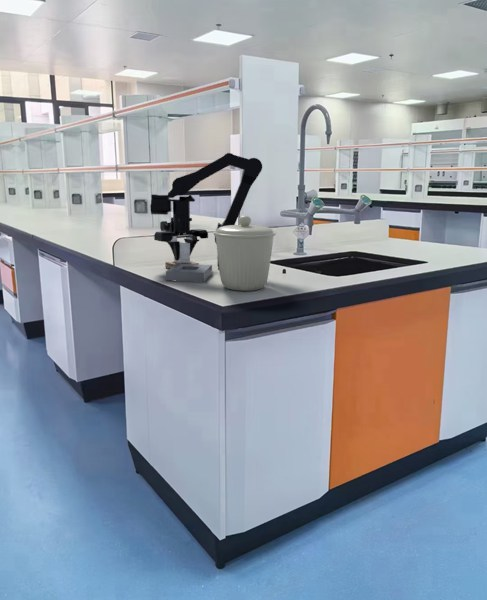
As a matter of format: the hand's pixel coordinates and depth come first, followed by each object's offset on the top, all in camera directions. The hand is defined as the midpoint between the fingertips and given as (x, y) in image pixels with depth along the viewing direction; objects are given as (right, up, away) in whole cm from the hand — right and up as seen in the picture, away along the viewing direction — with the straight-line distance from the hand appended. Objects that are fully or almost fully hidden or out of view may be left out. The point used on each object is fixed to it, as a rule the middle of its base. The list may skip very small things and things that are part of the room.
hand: (182, 259), depth 184 cm
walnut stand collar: (0, -3, +1) cm, 3 cm away
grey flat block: (+4, -7, -14) cm, 16 cm away
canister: (+22, -11, -28) cm, 37 cm away
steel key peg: (0, -3, +1) cm, 3 cm away
